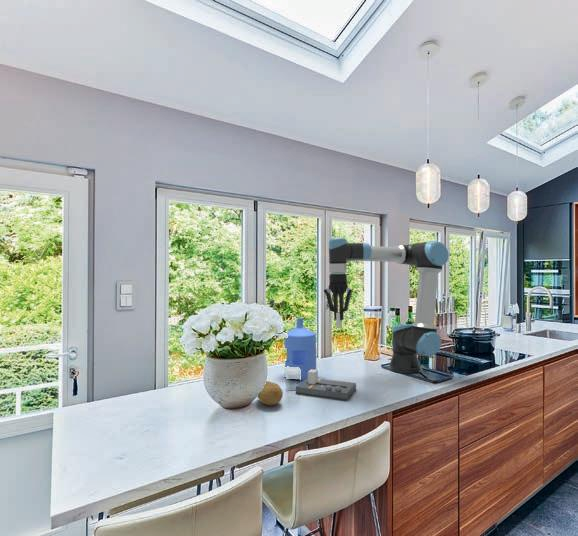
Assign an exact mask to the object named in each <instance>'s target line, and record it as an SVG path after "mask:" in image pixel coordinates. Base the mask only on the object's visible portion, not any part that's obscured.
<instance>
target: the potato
mask: <svg viewBox="0 0 578 536" xmlns="http://www.w3.org/2000/svg"><path fill="white" fill-rule="evenodd" d="M283 393H284V392H283V390H282V387H281V386H280V385H279V384H278V383H276V382H272V381H267V380H266V384H265V385H264V388H263V389H262V391H261V392H260V393H259V394H258V396H257V395H256V396H257V399H258V400H260V402H261V403H262V404H264V405H268V406H274V405H277V404H278V403H280V401H282V399H283V395H284V394H283Z"/></svg>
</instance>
